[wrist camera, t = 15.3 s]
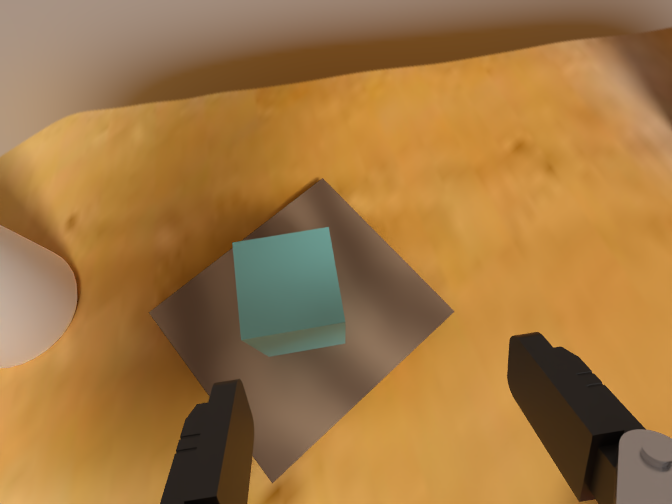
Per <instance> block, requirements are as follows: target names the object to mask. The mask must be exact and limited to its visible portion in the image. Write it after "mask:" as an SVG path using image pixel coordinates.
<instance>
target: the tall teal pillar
mask: <svg viewBox="0 0 672 504" xmlns="http://www.w3.org/2000/svg"><path fill="white" fill-rule="evenodd" d="M232 245H233V256H234V267H235V278H236V289H237V301H238V312H239V323H240V334H241V340H242V341H243V342H245V343H247V344H248V345H250V346H252V347H253V348H255V349H257V350H258V351H260V352H262V353H263V354H265V355H267V356H268V357H271V356H276V355H282V354H288V353H294V352H299V351H305V350H311V349H317V348H322V347H328V346H334V345H339V344H345V316H344V311H343V305H342V300H341V294H340V288H339V283H338V277H337V271H336V266H335V260H334V254H333V249H332V243H331V237H330V232H329V227H325V228H319V229H313V230H307V231H301V232H295V233H288V234H282V235H276V236H270V237H264V238H258V239H252V240H246V241H239V242H233V243H232Z"/></svg>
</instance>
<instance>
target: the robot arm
mask: <svg viewBox="0 0 672 504" xmlns="http://www.w3.org/2000/svg"><path fill="white" fill-rule="evenodd" d="M507 378H508V384H509V388H510V391H511V393H512V395H513V397H514V399H515V400H516V402H517V404H518V405H519V407H520V408H521V410H522V412H523V413H524V415H525V416H526V418H527V419H528V421H529V423H530V424H531V426H532V427H533V429H534V431H535V432H536V434H537V435H538V437H539V439H540V440H541V442H542V443H543V445H544V447H545V448H546V450H547V451H548V453H549V454H550V456H551V458H552V459H553V461H554V462H555V464H556V466H557V467H558V469H559V470H560V472H561V474H562V475H563V477H564V478H565V480H566V482H567V483H568V485H569V486H570V488H571V489H572V491H573V493H574V494H575V496H576V497H577V499H578V501H579V502H581V501H587V500H593V499H596V500H597V502H598V503H599V504H672V439H671V438H670V437H668V436H666V435H663V434H661V433H658V432H655V431H651V430H646V429H645V428H644V427H643V426H642V425H641V424H640V423H639V422H638V420H637V419H636V418H635V417H634V416H633V415H632V414H631V413H630V412H629V411H628V410H627V409H626V408H625V406H624V405H623V404H622V403H621V402H620V401H619V400H618V399H617V398H616V397H615V396H614V395H613V393H612V392H611V391H610V390H609V389H608V388H607V387H606V386H605V385H603V384H602V382H601V381H600V379H599V378H598V377H597V376H596V375H595V374H592V371H591V370H590V369H589V368H588V366H587V365H586V364H585V363H584V362H583V361H582V360H581V359H580V358H579V357H578V356H576V355H574V354H573V353H571V352H569V351H568V350H566V349H564V348H563V347H555V348H553V347H552V346H551V344H550V343H549V342H548V341H547V340H546V339H545V338H544V336H543V335H542V334H540V333H539V332H534V333H528V334H522V335H515V336H512V337H511V338H510V343H509V357H508V372H507ZM180 437H181V439H180V440H179V443H178V446H177V449H176V454H175V456H174V459H173V463H172V466H171V469H170V473H169V476H168V479H167V483H166V486H165V489H164V492H163V496H162V499H161V502H160V504H247V500H248V491H249V481H250V472H251V463H252V454H253V445H254V421H253V416H252V413H251V409H250V406H249V403H248V399H247V396H246V393H245V389H244V386H243V383H242V381H241V379H235V380H229V381H223V382H217V383H214V384H213V386H212V390H211V394H210V398H209V402H208V403H202V404H197V405H196V406H195V408H194V409H193V410H192V412H191V413H190V414H189V416H188V417H187V418H186V420H185V423H184V426H183V430H182V433H181V436H180Z"/></svg>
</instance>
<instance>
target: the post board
mask: <svg viewBox="0 0 672 504" xmlns="http://www.w3.org/2000/svg"><path fill="white" fill-rule="evenodd" d="M325 227H329V232H330V237H331V243H332V249H333V254H334V260H335V266H336V271H337V277H338V283H339V288H340V294H341V300H342V305H343V311H344V316H345V344H339V345H334V346H328V347H322V348H317V349H311V350H305V351H299V352H294V353H288V354H282V355H276V356H271V357H268V356H267V355H265V354H263V353H262V352H260V351H258V350H257V349H255V348H253V347H252V346H250V345H248V344H247V343H245V342H243V341H242V340H241V334H240V323H239V312H238V301H237V289H236V278H235V267H234V256H233V248H232V249H230V250H229V251H228V252H227V253H225V254H224V255H223V256H221V257H220V258H219V259H218V260H216V261H215V262H214V263H212V264H211V265H210V266H208V267H207V268H206V269H205V270H203V271H202V272H201V273H199V274H198V275H197V276H196V277H194V278H193V279H192V280H190V281H189V282H188V283H186V284H185V285H184V286H183V287H181V288H180V289H179V290H177V291H176V292H175V293H174V294H172V295H171V296H170V297H168V298H167V299H166V300H165V301H163V302H162V303H161V304H159V305H158V306H157V307H155V308H154V309H153V310H152V311H150V312H149V314H150V315H151V316H152V318H153V319H154V321H155V322H156V323H157V325H158V326H159V327H160V329H161V330H162V332H163V333H164V334H165V336H166V337H167V338H168V340H169V341H170V343H171V344H172V345H173V347H174V348H175V349H176V351H177V352H178V354H179V355H180V356H181V358H182V359H183V361H184V362H185V363H186V365H187V366H188V367H189V369H190V370H191V372H192V373H193V374H194V376H195V377H196V378H197V380H198V381H199V383H200V384H201V385H202V387H203V388H204V390H205V391H206V392H207V394H208V395H209V396H210V394H211V390H212V386H213V384H214V383H217V382H223V381H229V380H235V379H241V381H242V383H243V386H244V389H245V393H246V396H247V399H248V403H249V406H250V409H251V413H252V416H253V421H254V445H253V454H252V456H253V457H254V459H255V460H256V461H257V463H258V464H259V465H260V467H261V468H262V470H263V471H264V472H265V474H266V475H267V476H268V478H269V479H270V481H271V482H272V483H273V482H274V481H275V480H276V479H277V478H278V477H280V476H281V475H282V474H283V473H284V472H285V471H286V470H287V469H288V468H289V467H290V466H291V465H292V464H293V463H294V462H295V461H296V460H298V459H299V458H300V457H301V456H302V455H303V454H304V453H305V452H306V451H307V450H308V449H309V448H310V447H311V446H312V445H313V444H315V443H316V442H317V441H318V440H319V439H320V438H321V437H322V436H323V435H324V434H325V433H326V432H327V431H328V430H329V429H330V428H331V427H333V426H334V425H335V424H336V423H337V422H338V421H339V420H340V419H341V418H342V417H343V416H344V415H345V414H346V413H347V412H348V411H349V410H351V409H352V408H353V407H354V406H355V405H356V404H357V403H358V402H359V401H360V400H361V399H362V398H363V397H364V396H365V395H366V394H367V393H369V392H370V391H371V390H372V389H373V388H374V387H375V386H376V385H377V384H378V383H379V382H380V381H381V380H382V379H383V378H384V377H386V376H387V375H388V374H389V373H390V372H391V371H392V370H393V369H394V368H395V367H396V366H397V365H398V364H399V363H400V362H401V361H402V360H404V359H405V358H406V357H407V356H408V355H409V354H410V353H411V352H412V351H413V350H414V349H415V348H416V347H417V346H418V345H419V344H420V343H422V342H423V341H424V340H425V339H426V338H427V337H428V336H429V335H430V334H431V333H432V332H433V331H434V330H435V329H436V328H437V327H438V326H440V325H441V324H442V323H443V322H444V321H445V320H446V319H447V318H448V317H449V316H450V315H451V314H452V313H453V312H454V311H453V310H452V309H451V308H450V307H449V306H448V305H447V304H446V303H445V302H444V301H443V300H442V298H441V297H440V296H439V295H438V294H437V293H436V292H435V291H434V290H433V289H432V288H431V287H430V286H429V285H428V284H427V283H426V282H425V281H424V280H423V279H422V278H421V277H420V276H419V275H418V274H417V273H416V272H415V271H414V270H413V269H412V268H411V267H410V266H409V265H408V264H407V263H406V262H405V261H404V260H403V259H402V258H401V257H400V256H399V255H398V254H397V253H396V252H395V251H394V250H393V249H392V248H391V247H390V246H389V245H388V244H387V243H386V242H385V241H384V240H383V239H382V238H381V237H380V236H379V235H378V234H377V233H376V232H375V231H374V230H373V229H372V228H371V227H370V226H369V225H368V224H367V223H366V222H365V221H364V220H363V219H362V218H361V217H360V216H359V215H358V214H357V213H356V212H355V211H354V210H353V209H352V208H351V207H350V205H349V204H348V203H347V202H346V201H345V200H344V199H343V198H342V197H341V196H340V195H339V194H338V193H337V192H336V191H335V190H334V189H333V188H332V187H331V186H330V185H329V184H328V183H327V182H326V181H325V180H324V179H323V178H322V179H321V180H320V181H318V182H317V183H316V184H314V185H313V186H312V187H311V188H309V189H308V190H307V191H305V192H304V193H303V194H302V195H300V196H299V197H298V198H296V199H295V200H294V201H292V202H291V203H290V204H289V205H287V206H286V207H285V208H283V209H282V210H281V211H280V212H278V213H277V214H276V215H274V216H273V217H272V218H271V219H269V220H268V221H267V222H265V223H264V224H263V225H261V226H260V227H259V228H258V229H256V230H255V231H254V232H252V233H251V234H250V235H249V236H247V237H246V238H245V239H243V240H242V241H246V240H252V239H258V238H264V237H270V236H276V235H282V234H288V233H295V232H301V231H307V230H313V229H319V228H325Z"/></svg>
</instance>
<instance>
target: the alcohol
mask: <svg viewBox="0 0 672 504" xmlns="http://www.w3.org/2000/svg"><path fill="white" fill-rule="evenodd" d="M76 306H77V283H76V280H75V276H74V273H73V271H72V270H71V268H70V266H69V264H68V263H67V262H66V261H65V260H64V259H63V258H62V257H60V256H59V255H57V254H56V253H54V252H52V251H50V250H48V249H46V248H44V247H42V246H40V245H39V244H37V243H35V242H33V241H31V240H29V239H27V238H25V237H23V236H21V235H19V234H17V233H15V232H13V231H11V230H9V229H7V228H5V227H4V226H2V225H0V368H10V367H13V366H17V365H21V364H24V363H26V362H28V361H30V360H32V359H34V358H36V357H37V356H39V355H40V354H42V353H43V352H45V351H46V350H47V349H49V348H50V347H51V346H52V345H53V344H54V343H55V342H56V341H58V340H59V339H60V337H61V336H62V335H63V334H64V332H65V331H66V330H67V328H68V326H69V325H70V323H71V321H72V319H73V316H74V313H75V311H76Z"/></svg>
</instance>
